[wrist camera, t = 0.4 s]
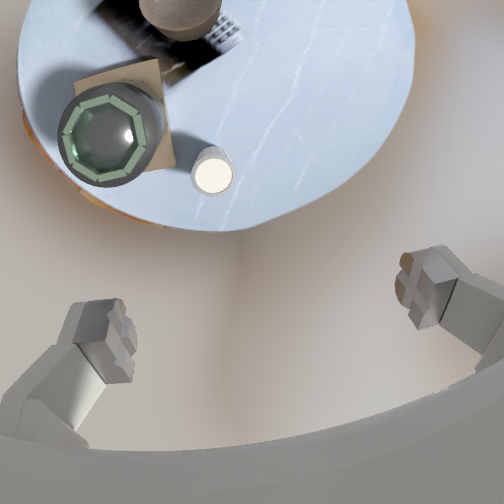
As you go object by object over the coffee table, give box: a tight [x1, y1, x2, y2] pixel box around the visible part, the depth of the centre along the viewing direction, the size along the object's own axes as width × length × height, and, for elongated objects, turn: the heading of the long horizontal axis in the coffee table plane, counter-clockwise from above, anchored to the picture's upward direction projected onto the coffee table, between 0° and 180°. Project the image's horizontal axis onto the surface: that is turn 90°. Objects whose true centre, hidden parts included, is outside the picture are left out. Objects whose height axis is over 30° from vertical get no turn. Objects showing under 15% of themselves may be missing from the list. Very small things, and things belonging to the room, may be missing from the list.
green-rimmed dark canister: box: [58, 58, 177, 188], centre depth 39 cm, size 18×14×13 cm
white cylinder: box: [191, 146, 237, 197], centre depth 48 cm, size 7×7×7 cm
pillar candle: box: [139, 0, 222, 41], centre depth 30 cm, size 10×10×15 cm
